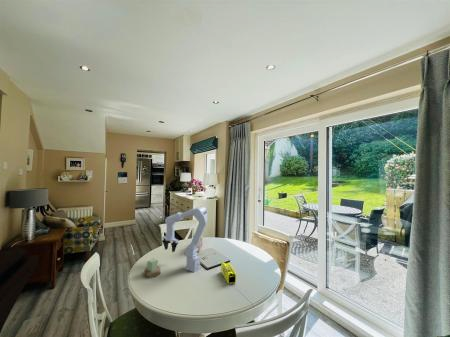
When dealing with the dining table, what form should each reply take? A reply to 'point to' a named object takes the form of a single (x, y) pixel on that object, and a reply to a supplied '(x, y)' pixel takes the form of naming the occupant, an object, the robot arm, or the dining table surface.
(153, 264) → the sage block
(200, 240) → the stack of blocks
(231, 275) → the yellow toy chassis
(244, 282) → the dining table surface
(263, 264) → the dining table surface
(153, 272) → the walnut plinth
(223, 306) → the dining table surface
